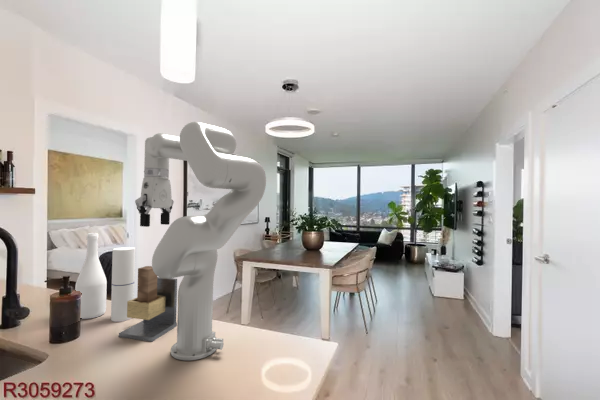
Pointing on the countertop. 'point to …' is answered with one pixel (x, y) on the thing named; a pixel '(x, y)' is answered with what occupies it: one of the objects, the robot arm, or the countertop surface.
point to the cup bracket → (153, 313)
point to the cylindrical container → (122, 282)
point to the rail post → (146, 284)
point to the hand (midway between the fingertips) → (155, 225)
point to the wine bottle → (92, 282)
